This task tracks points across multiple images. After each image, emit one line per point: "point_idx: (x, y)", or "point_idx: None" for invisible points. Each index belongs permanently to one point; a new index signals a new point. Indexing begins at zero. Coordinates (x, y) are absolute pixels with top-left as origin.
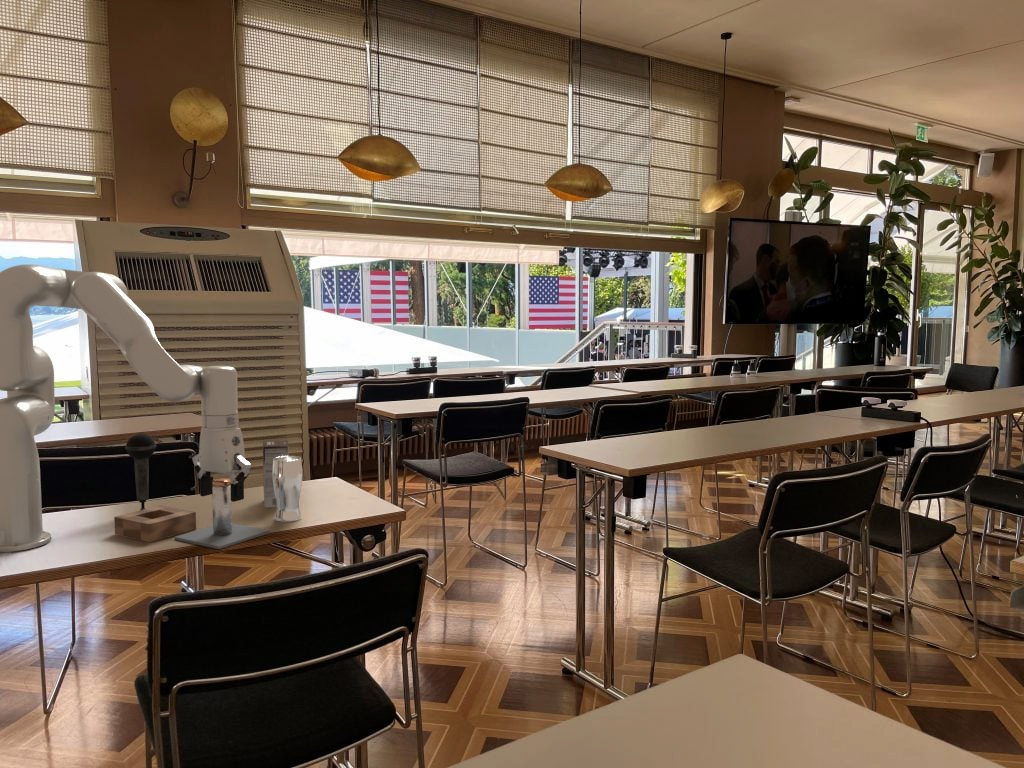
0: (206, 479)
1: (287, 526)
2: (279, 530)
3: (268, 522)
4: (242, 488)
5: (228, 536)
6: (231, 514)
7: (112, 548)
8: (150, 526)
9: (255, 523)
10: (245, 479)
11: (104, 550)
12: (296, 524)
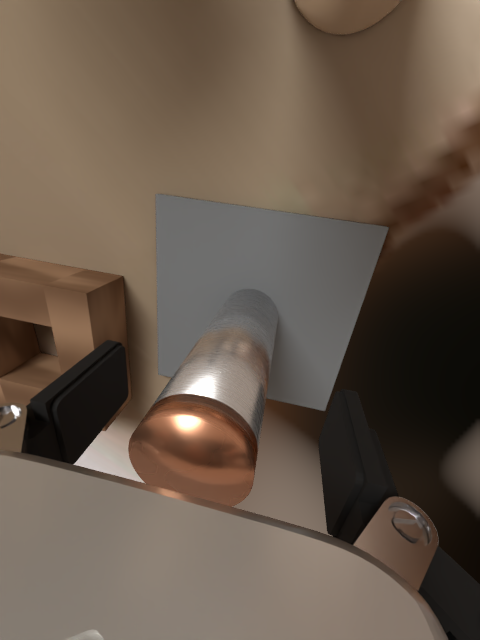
0: (69, 444)
1: (421, 94)
2: (411, 174)
3: (291, 76)
4: (385, 471)
5: (287, 335)
6: (269, 333)
7: (109, 439)
8: (108, 423)
9: (247, 123)
10: (433, 533)
11: (109, 449)
12: (456, 30)
